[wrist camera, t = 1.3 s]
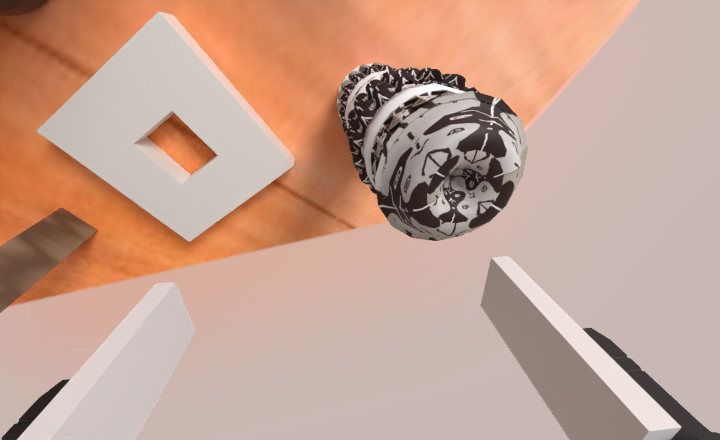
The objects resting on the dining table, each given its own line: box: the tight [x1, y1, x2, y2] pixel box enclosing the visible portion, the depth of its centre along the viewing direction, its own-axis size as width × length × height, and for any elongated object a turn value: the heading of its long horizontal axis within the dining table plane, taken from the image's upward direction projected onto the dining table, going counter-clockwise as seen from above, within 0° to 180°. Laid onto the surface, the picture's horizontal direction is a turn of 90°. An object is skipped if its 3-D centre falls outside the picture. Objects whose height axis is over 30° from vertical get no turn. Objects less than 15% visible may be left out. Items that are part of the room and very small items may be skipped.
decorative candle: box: [336, 63, 528, 241], centre depth 23 cm, size 9×9×25 cm
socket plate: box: [37, 12, 295, 242], centre depth 32 cm, size 18×18×3 cm
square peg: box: [0, 208, 98, 313], centre depth 31 cm, size 4×4×14 cm
